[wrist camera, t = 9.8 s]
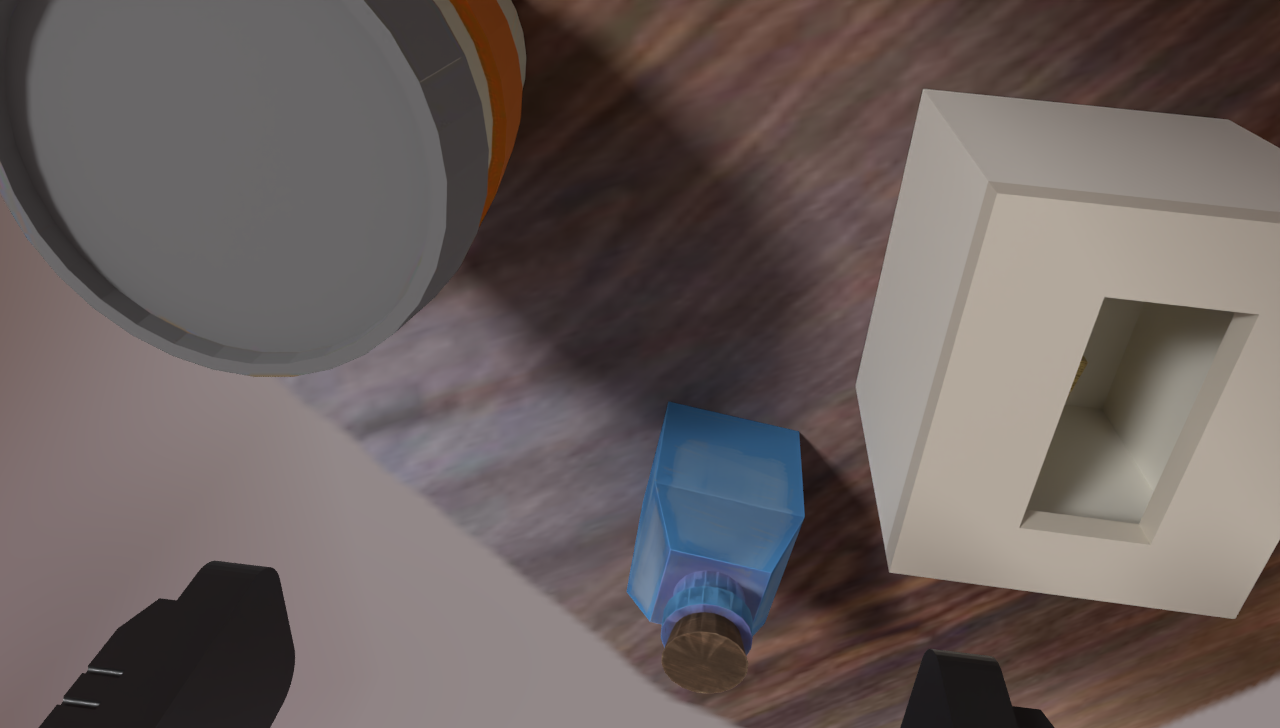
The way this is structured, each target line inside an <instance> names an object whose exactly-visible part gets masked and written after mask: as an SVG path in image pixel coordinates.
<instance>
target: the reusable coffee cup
mask: <svg viewBox="0 0 1280 728" xmlns="http://www.w3.org/2000/svg"><path fill="white" fill-rule="evenodd" d="M525 72H526V50H525V42H524V34H523V30H522V27H521V24H520V21H519V17H518V14H517V11H516V9H515V7H514V5H513V3H512V1H511V0H0V196H1V197H2V199H3V201H4V202H5V204H6V206H7V207H8V209H9V210H10V212H11V214H12V215H13V217H14V218H15V220H16V221H17V223H18V225H19V226H20V228H21V230H22V231H23V233H24V234H25V236H26V238H27V239H28V240H29V241H30V242H31V244H32V245H33V246H34V247H35V249H36V250H37V251H38V252H39V253H40V254H41V256H42V257H43V258H44V259H45V261H46V262H47V263H48V264H49V265H50V267H51V268H52V269H53V270H54V271H55V273H56V274H57V275H58V276H59V277H60V278H61V279H62V280H63V281H64V282H65V283H67V284H68V285H69V286H70V287H71V288H72V289H73V290H74V291H75V292H77V294H79V295H80V296H81V297H82V298H83V299H84V300H85V301H86V302H87V303H88V304H89V305H90V306H92V307H93V308H94V309H95V310H97V311H98V312H100V313H101V314H102V315H104V316H105V317H107V318H108V319H110V320H111V321H113V322H114V323H115V324H117V325H118V326H120V327H121V328H122V329H124V330H125V331H127V332H128V333H130V334H131V335H133V336H135V337H137V338H139V339H141V340H143V341H145V342H147V343H148V344H150V345H152V346H154V347H156V348H158V349H160V350H162V351H164V352H166V353H168V354H170V355H172V356H175V357H178V358H181V359H184V360H186V361H189V362H193V363H195V364H198V365H201V366H204V367H207V368H210V369H213V370H219V371H225V372H230V373H236V374H242V375H248V376H254V377H294V376H299V375H304V374H309V373H314V372H320V371H325V370H330V369H333V368H335V367H337V366H340V365H342V364H344V363H347V362H349V361H351V360H354V359H356V358H358V357H361V356H363V355H365V354H367V353H368V352H369V351H371V350H372V349H373V348H375V347H376V346H378V345H379V344H380V343H382V342H383V341H384V340H386V339H387V338H388V337H390V336H391V335H393V334H394V333H395V332H396V331H397V330H399V329H400V328H401V327H402V326H403V325H404V324H405V323H406V322H408V321H409V320H410V319H411V318H412V317H413V316H414V315H415V314H416V313H418V312H419V311H420V310H421V309H422V308H423V307H424V306H425V305H427V304H428V303H429V302H430V301H431V300H432V299H433V298H434V297H436V295H437V294H438V293H439V292H440V291H441V290H442V288H443V287H444V286H445V285H446V284H447V282H448V281H449V280H450V279H451V278H452V277H453V275H454V274H455V273H456V272H457V271H458V269H459V268H460V266H461V264H462V262H463V260H464V258H465V256H466V254H467V252H468V251H469V249H470V247H471V245H472V243H473V241H474V239H475V237H476V235H477V232H478V228H479V227H480V225H481V223H482V221H483V219H484V217H485V215H486V213H487V211H488V209H489V207H490V205H491V203H492V201H493V199H494V197H495V195H496V193H497V190H498V188H499V185H500V182H501V180H502V177H503V174H504V172H505V169H506V166H507V164H508V161H509V158H510V156H511V153H512V150H513V147H514V143H515V139H516V136H517V132H518V128H519V124H520V120H521V106H522V90H523V86H524V82H525Z"/></svg>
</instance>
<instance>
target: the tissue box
mask: <svg viewBox="0 0 1280 728" xmlns="http://www.w3.org/2000/svg"><path fill="white" fill-rule="evenodd" d="M1083 356H1084V357H1085V359H1086V360H1087V362H1088V364H1087V366H1086V367H1085V369H1084V371H1083V372H1082V374H1081V376H1080V378H1079V379H1078V381H1077V383H1076V385H1075V386H1074V388H1073V390H1072V391H1071V393H1070V395H1069V397H1068V394H1069V392H1070V389H1071V386H1072V384H1073V381H1074V378H1075V375H1076V373H1077V370H1078V367H1079V365H1080V362H1081V359H1082V357H1083ZM856 391H857V397H858V402H859V408H860V413H861V419H862V425H863V430H864V436H865V441H866V447H867V452H868V458H869V463H870V469H871V474H872V480H873V485H874V491H875V496H876V502H877V507H878V513H879V519H880V524H881V530H882V535H883V541H884V546H885V552H886V557H887V563H888V568H889V572H890V573H898V574H905V575H913V576H920V577H927V578H935V579H942V580H950V581H957V582H964V583H972V584H979V585H987V586H994V587H1001V588H1009V589H1016V590H1023V591H1031V592H1038V593H1046V594H1053V595H1060V596H1068V597H1075V598H1083V599H1090V600H1097V601H1105V602H1112V603H1120V604H1127V605H1134V606H1142V607H1149V608H1157V609H1164V610H1171V611H1179V612H1186V613H1193V614H1201V615H1208V616H1216V617H1223V618H1230V619H1235V618H1236V616H1237V615H1238V613H1239V611H1240V609H1241V607H1242V606H1243V604H1244V602H1245V600H1246V599H1247V597H1248V595H1249V593H1250V591H1251V590H1252V588H1253V586H1254V584H1255V583H1256V581H1257V579H1258V577H1259V575H1260V574H1261V572H1262V570H1263V568H1264V567H1265V565H1266V563H1267V561H1268V559H1269V558H1270V556H1271V554H1272V552H1273V551H1274V549H1275V547H1276V545H1277V543H1278V542H1279V540H1280V148H1278V147H1277V146H1275V145H1273V144H1271V143H1269V142H1268V141H1266V140H1264V139H1262V138H1261V137H1259V136H1257V135H1255V134H1253V133H1252V132H1250V131H1248V130H1246V129H1244V128H1243V127H1241V126H1239V125H1237V124H1235V123H1234V122H1232V121H1230V120H1228V119H1218V118H1208V117H1198V116H1188V115H1178V114H1168V113H1158V112H1148V111H1138V110H1128V109H1118V108H1108V107H1098V106H1089V105H1079V104H1069V103H1059V102H1049V101H1039V100H1029V99H1019V98H1009V97H999V96H989V95H979V94H969V93H959V92H949V91H939V90H929V89H923V92H922V96H921V101H920V105H919V109H918V114H917V118H916V123H915V127H914V131H913V136H912V140H911V144H910V149H909V153H908V158H907V162H906V166H905V171H904V175H903V180H902V184H901V188H900V193H899V197H898V202H897V206H896V210H895V215H894V219H893V224H892V228H891V232H890V237H889V241H888V246H887V250H886V254H885V259H884V263H883V268H882V272H881V276H880V281H879V285H878V290H877V294H876V298H875V303H874V307H873V312H872V316H871V320H870V325H869V329H868V333H867V338H866V342H865V347H864V351H863V355H862V360H861V364H860V369H859V373H858V377H857V382H856ZM1067 397H1068V398H1067Z"/></svg>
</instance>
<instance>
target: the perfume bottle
mask: <svg viewBox="0 0 1280 728" xmlns="http://www.w3.org/2000/svg"><path fill="white" fill-rule="evenodd" d="M804 517H805V512H804V497H803V482H802V467H801V452H800V438H799V431H795V430H790V429H786V428H782V427H777V426H773V425H769V424H764V423H760V422H756V421H751V420H747V419H743V418H738V417H734V416H729V415H725V414H721V413H716V412H712V411H708V410H703V409H699V408H695V407H690V406H686V405H682V404H677V403H673V402H668V406H667V410H666V414H665V418H664V422H663V426H662V430H661V433H660V437H659V441H658V445H657V449H656V453H655V457H654V461H653V465H652V469H651V473H650V477H649V481H648V485H647V489H646V493H645V497H644V501H643V505H642V510H641V516H640V521H639V527H638V532H637V538H636V543H635V549H634V554H633V560H632V565H631V571H630V576H629V581H628V587H627V593H628V594H629V595H630V597H631V598H632V599H633V600H634V602H635V603H636V604H637V606H638V607H639V608H640V609H641V611H642V612H643V613H644V615H645V616H646V617H647V618H648V620H649V621H650V622H653V623H658V624H662V628H661V640H662V642H663V645H664V650H663V653H662V666H663V668H664V671H665V673H666V674H667V675H668V677H669V678H670V679H671V680H672V681H673V682H675V683H676V684H678V685H679V686H681V687H682V688H685V689H688V690H691V691H694V692H700V693H718V692H723V691H726V690H729V689H731V688H733V687H735V686H736V685H737V684H739V683H740V682H742V680H743V678H744V677H745V675H746V674H747V669H748V661H747V657H746V656H747V654H748V652H749V651H750V649H751V645H752V636H753V635H754V634H755V633H756V632H757V631H758V630H759V629H760V628H761V627H762V626H763V625H764V624H765V621H766V618H767V616H768V613H769V610H770V608H771V605H772V602H773V600H774V597H775V594H776V592H777V589H778V586H779V584H780V581H781V579H782V576H783V573H784V571H785V568H786V565H787V563H788V560H789V557H790V555H791V552H792V549H793V547H794V544H795V541H796V539H797V536H798V533H799V531H800V528H801V525H802V523H803V520H804Z"/></svg>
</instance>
